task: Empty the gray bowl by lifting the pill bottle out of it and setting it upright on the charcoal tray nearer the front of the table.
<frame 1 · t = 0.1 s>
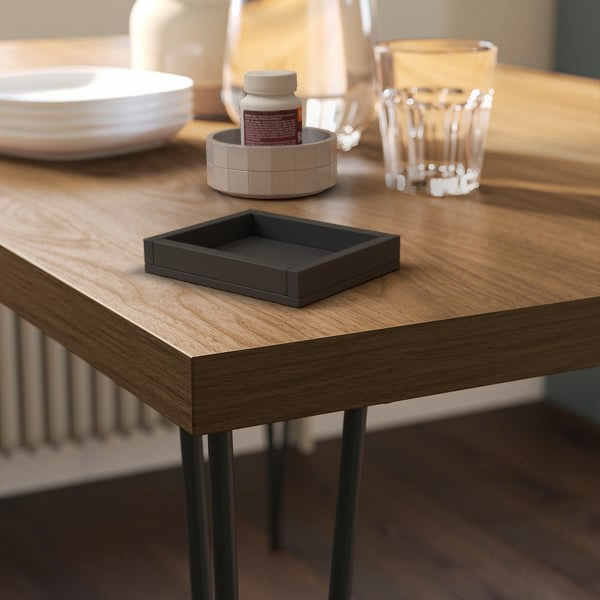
gray bowl: (272, 186, 92), on the table
tray: (272, 269, 69), on the table
pill bottle: (272, 184, 92), resting on gray bowl
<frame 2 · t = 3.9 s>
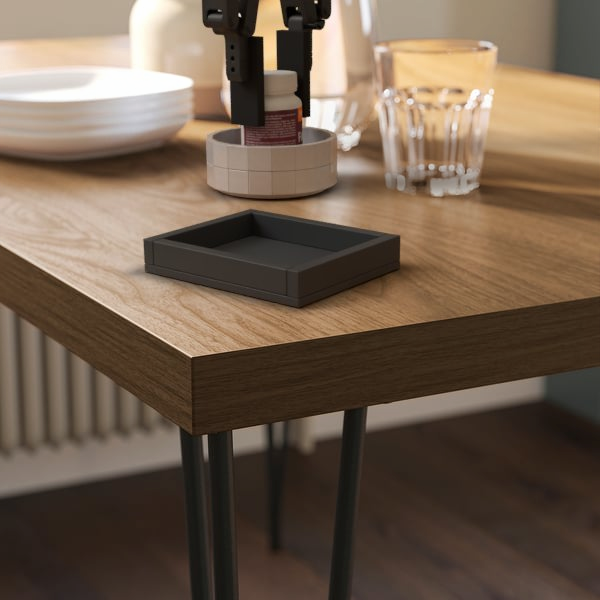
hand: (271, 119, 90), 5 cm above the table, tool pointing down, fingers closed on pill bottle, 5 cm apart
pill bottle: (272, 184, 92), resting on gray bowl, touching gripper
when the fingers open (5 cm above the table, at t = 10.6 s): pill bottle stays where it is, resting on tray.
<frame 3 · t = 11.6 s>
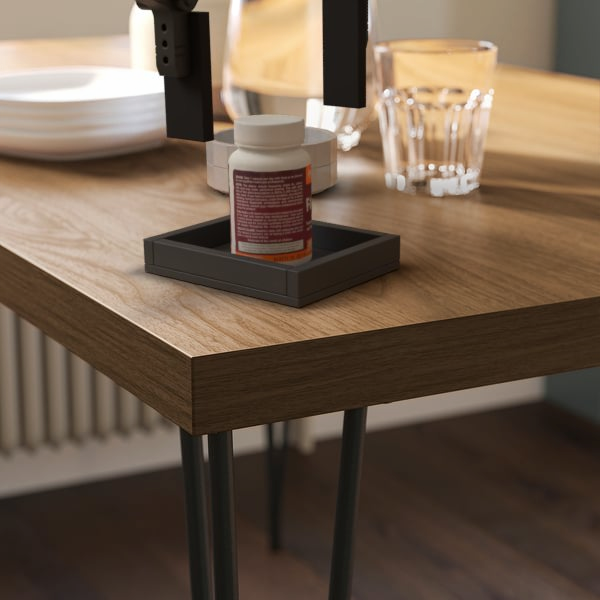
hand: (273, 122, 67), 9 cm above the table, tool pointing down, fingers open, 13 cm apart
pill bottle: (272, 264, 69), resting on tray
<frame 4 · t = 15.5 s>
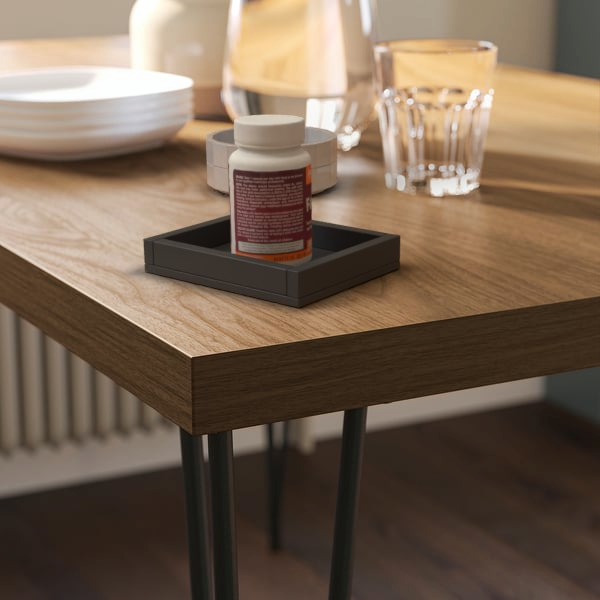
nothing on the table moved.
at the end: pill bottle inside the target area in the tray (0.0 cm from its centre), point 0.3 cm above the tray's base; pill bottle tilted 0°; the gripper is holding nothing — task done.
